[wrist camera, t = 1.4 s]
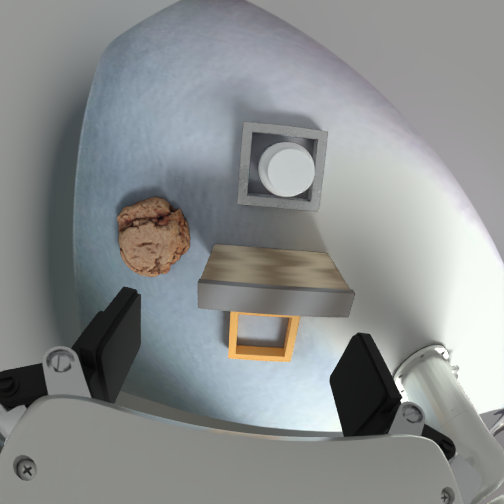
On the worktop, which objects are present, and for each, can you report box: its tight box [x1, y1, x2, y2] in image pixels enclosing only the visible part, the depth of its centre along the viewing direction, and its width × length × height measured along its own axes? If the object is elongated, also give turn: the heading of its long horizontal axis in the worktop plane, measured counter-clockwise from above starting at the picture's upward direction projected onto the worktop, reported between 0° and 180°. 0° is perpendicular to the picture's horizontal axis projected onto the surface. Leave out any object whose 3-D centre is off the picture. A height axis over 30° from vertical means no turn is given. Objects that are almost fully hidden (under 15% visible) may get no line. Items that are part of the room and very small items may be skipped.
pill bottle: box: [257, 142, 315, 197], centre depth 26 cm, size 5×5×9 cm
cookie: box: [117, 197, 190, 277], centre depth 32 cm, size 10×11×3 cm
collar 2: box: [228, 311, 300, 362], centre depth 37 cm, size 9×9×2 cm
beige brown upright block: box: [198, 244, 355, 318], centre depth 29 cm, size 14×3×11 cm, turn 85°
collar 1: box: [237, 122, 328, 212], centre depth 29 cm, size 9×9×2 cm
